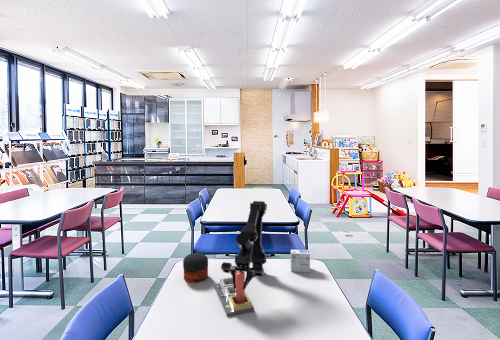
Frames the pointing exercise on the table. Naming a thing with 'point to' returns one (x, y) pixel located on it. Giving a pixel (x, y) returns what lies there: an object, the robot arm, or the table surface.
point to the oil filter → (195, 267)
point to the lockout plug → (239, 286)
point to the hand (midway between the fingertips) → (239, 288)
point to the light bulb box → (300, 260)
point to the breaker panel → (231, 298)
